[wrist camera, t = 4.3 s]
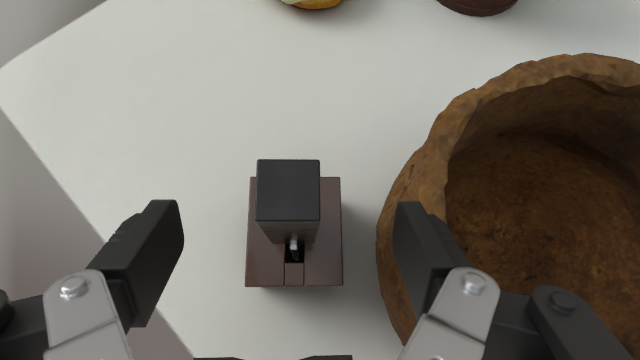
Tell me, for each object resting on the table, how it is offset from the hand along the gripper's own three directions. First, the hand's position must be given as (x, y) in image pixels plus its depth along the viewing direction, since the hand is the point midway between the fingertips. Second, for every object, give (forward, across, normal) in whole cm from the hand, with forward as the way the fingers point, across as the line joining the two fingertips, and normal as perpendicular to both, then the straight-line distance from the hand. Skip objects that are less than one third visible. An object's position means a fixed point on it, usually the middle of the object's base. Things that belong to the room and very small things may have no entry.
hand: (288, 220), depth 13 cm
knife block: (+12, 0, +10) cm, 15 cm away
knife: (+12, 0, +10) cm, 15 cm away
